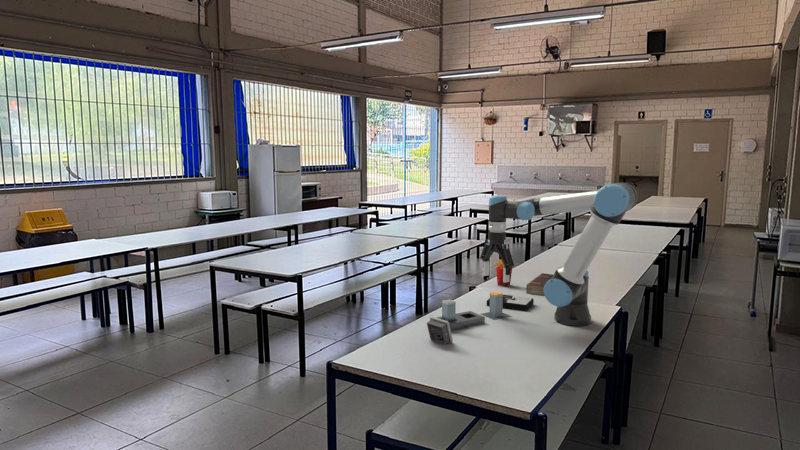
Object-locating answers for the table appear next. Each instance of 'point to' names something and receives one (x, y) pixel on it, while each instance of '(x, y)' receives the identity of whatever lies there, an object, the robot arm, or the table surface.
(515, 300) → the multimeter
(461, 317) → the grey block holder
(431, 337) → the electrical switch
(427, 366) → the table surface
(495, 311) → the plug
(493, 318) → the mat
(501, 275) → the french fries
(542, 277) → the hardback book
